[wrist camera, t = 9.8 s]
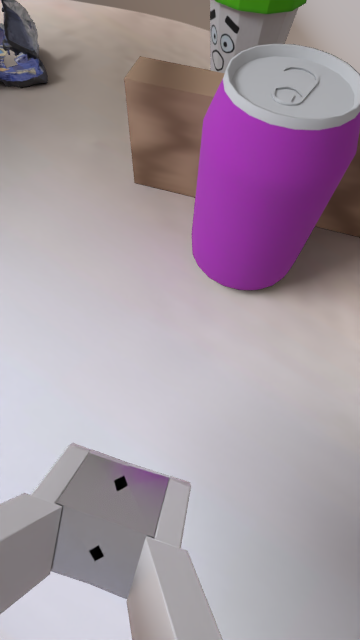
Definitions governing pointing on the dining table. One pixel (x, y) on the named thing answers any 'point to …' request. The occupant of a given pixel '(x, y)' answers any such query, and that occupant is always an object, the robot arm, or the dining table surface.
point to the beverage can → (271, 160)
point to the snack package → (20, 47)
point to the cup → (247, 26)
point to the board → (199, 136)
